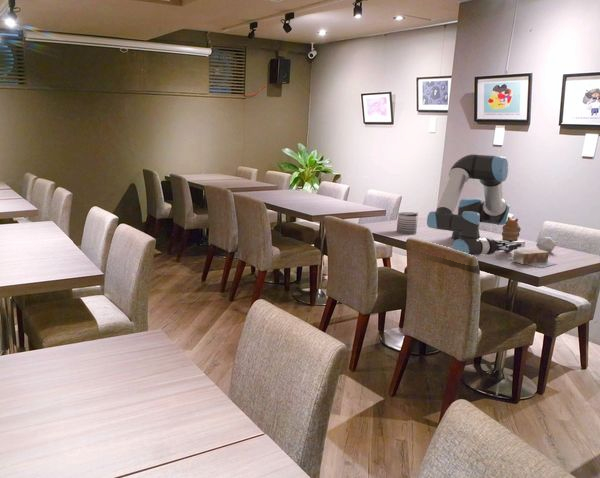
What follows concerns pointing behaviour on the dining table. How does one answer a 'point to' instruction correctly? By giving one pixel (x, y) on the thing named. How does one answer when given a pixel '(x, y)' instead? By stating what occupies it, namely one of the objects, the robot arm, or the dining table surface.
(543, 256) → the block
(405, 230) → the can
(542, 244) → the grey knobbly ball
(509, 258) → the mat
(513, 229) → the cat ice cream
